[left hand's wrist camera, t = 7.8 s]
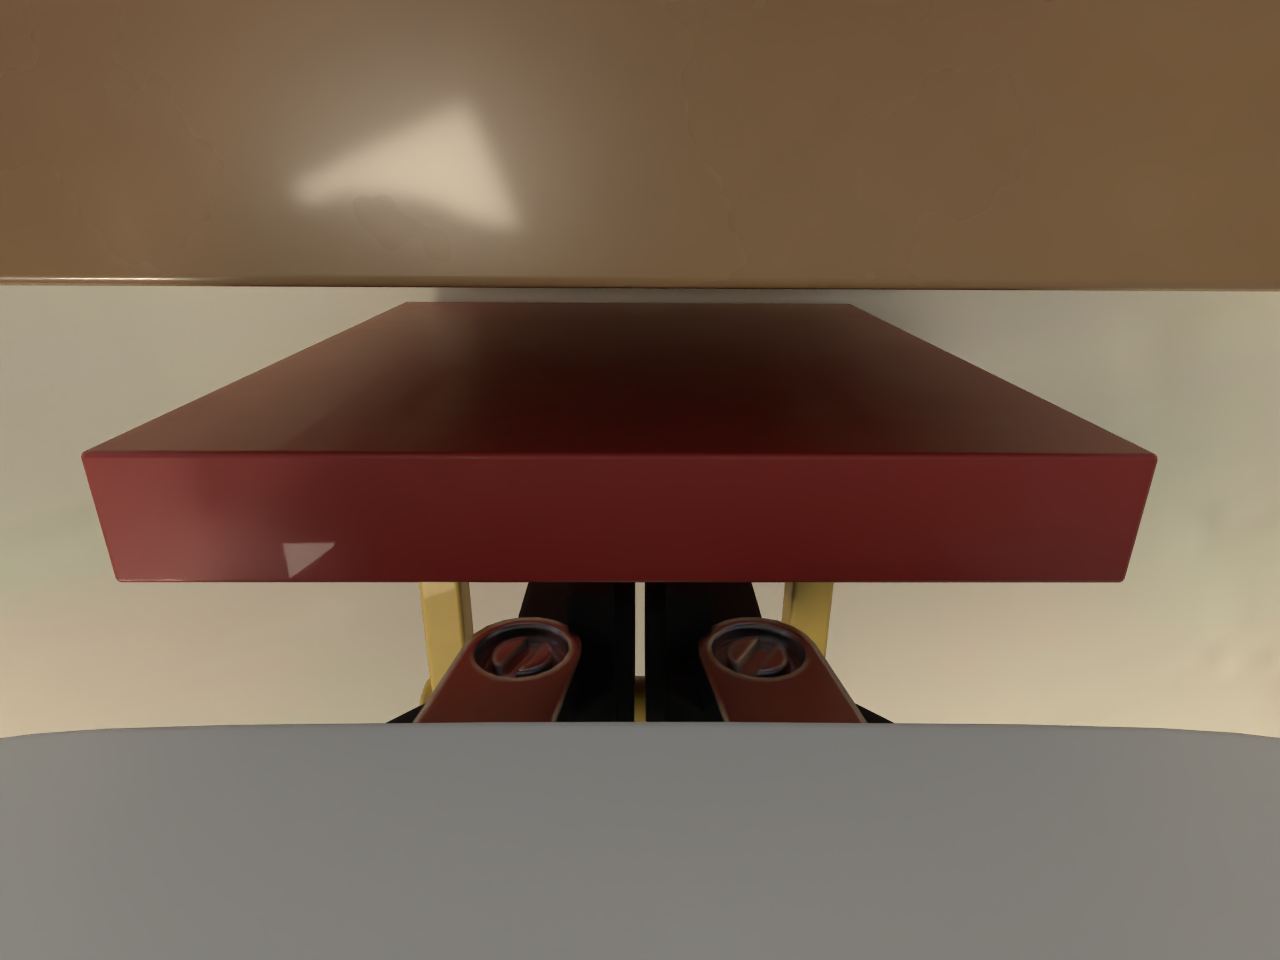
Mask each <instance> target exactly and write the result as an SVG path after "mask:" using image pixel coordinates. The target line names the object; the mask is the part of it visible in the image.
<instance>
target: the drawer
mask: <svg viewBox="0 0 1280 960" xmlns="http://www.w3.org/2000/svg"><path fill="white" fill-rule="evenodd" d="M81 458H82V462H83V465H84V469H85V472H86V476H87V479H88V483H89V486H90V490H91V493H92V496H93V500H94V503H95V507H96V510H97V514H98V517H99V521H100V524H101V528H102V531H103V535H104V538H105V542H106V545H107V549H108V552H109V556H110V559H111V563H112V566H113V570H114V573H115V577H116V579H117V580H118V581H120V582H419V586H420V594H421V603H422V611H423V620H424V628H425V637H426V645H427V654H428V662H429V671H430V679H429V680H428V681H427V682H426V684H425V687H424V689H423V692H422V695H421V699H420V704H419V706H421V705H423V704H425V703H426V702H427V700H428V699H429V697H430V696H431V694H432V692H433V691H434V689H435V688H436V686H437V685H438V683H439V682H440V680H441V679H442V677H443V676H444V674H445V673H446V671H447V670H448V668H449V667H450V665H451V664H452V662H453V661H454V659H455V658H456V656H457V655H458V653H459V652H460V650H461V649H462V647H463V646H464V644H465V643H466V642H467V641H468V640H469V639H470V638H471V637H472V636H473V635H474V634H473V623H472V612H471V601H470V590H469V582H785V589H784V601H783V612H782V623H785V624H788V625H791V626H793V627H795V628H797V629H798V630H800V631H802V632H803V633H805V634H806V635H807V636H808V637H809V638H810V639H811V640H812V641H813V642H814V643H815V644H816V646H817V647H818V649H819V650H820V652H821V653H822V655H823V656H824V658H825V654H826V645H827V637H828V628H829V620H830V611H831V602H832V594H833V585H834V582H1122V581H1123V580H1124V579H1125V575H1126V571H1127V568H1128V564H1129V561H1130V557H1131V554H1132V550H1133V546H1134V543H1135V539H1136V536H1137V532H1138V528H1139V525H1140V521H1141V518H1142V514H1143V510H1144V507H1145V503H1146V500H1147V496H1148V492H1149V489H1150V485H1151V482H1152V478H1153V475H1154V471H1155V467H1156V464H1157V456H1156V454H1153V453H1151V452H1149V451H1147V450H1145V449H1143V448H1141V447H1139V446H1137V445H1135V444H1133V443H1131V442H1129V441H1127V440H1125V439H1123V438H1121V437H1119V436H1117V435H1115V434H1113V433H1111V432H1109V431H1107V430H1105V429H1103V428H1101V427H1099V426H1097V425H1094V424H1092V423H1090V422H1088V421H1086V420H1084V419H1082V418H1080V417H1078V416H1076V415H1074V414H1072V413H1070V412H1068V411H1066V410H1064V409H1062V408H1060V407H1058V406H1056V405H1054V404H1052V403H1050V402H1048V401H1046V400H1044V399H1042V398H1040V397H1038V396H1036V395H1033V394H1031V393H1029V392H1027V391H1025V390H1023V389H1021V388H1019V387H1017V386H1015V385H1013V384H1011V383H1009V382H1007V381H1005V380H1003V379H1001V378H999V377H997V376H995V375H993V374H991V373H989V372H987V371H985V370H983V369H981V368H979V367H977V366H974V365H972V364H970V363H968V362H966V361H964V360H962V359H960V358H958V357H956V356H954V355H952V354H950V353H948V352H946V351H944V350H942V349H940V348H938V347H936V346H934V345H932V344H930V343H928V342H926V341H924V340H922V339H920V338H918V337H915V336H913V335H911V334H909V333H907V332H905V331H903V330H901V329H899V328H897V327H895V326H893V325H891V324H889V323H887V322H885V321H883V320H881V319H879V318H877V317H875V316H873V315H871V314H869V313H867V312H865V311H863V310H861V309H859V308H857V307H854V306H852V305H850V304H716V303H501V302H406V303H403V304H401V305H399V306H397V307H395V308H393V309H390V310H388V311H386V312H384V313H382V314H380V315H378V316H375V317H373V318H371V319H369V320H367V321H365V322H363V323H360V324H358V325H356V326H354V327H352V328H350V329H347V330H345V331H343V332H341V333H339V334H337V335H335V336H332V337H330V338H328V339H326V340H324V341H322V342H319V343H317V344H315V345H313V346H311V347H309V348H307V349H304V350H302V351H300V352H298V353H296V354H294V355H291V356H289V357H287V358H285V359H283V360H281V361H279V362H276V363H274V364H272V365H270V366H268V367H266V368H263V369H261V370H259V371H257V372H255V373H253V374H251V375H248V376H246V377H244V378H242V379H240V380H238V381H235V382H233V383H231V384H229V385H227V386H225V387H223V388H220V389H218V390H216V391H214V392H212V393H210V394H207V395H205V396H203V397H201V398H199V399H197V400H195V401H192V402H190V403H188V404H186V405H184V406H182V407H179V408H177V409H175V410H173V411H171V412H169V413H167V414H164V415H162V416H160V417H158V418H156V419H154V420H151V421H149V422H147V423H145V424H143V425H141V426H139V427H136V428H134V429H132V430H130V431H128V432H126V433H123V434H121V435H119V436H117V437H115V438H113V439H111V440H108V441H106V442H104V443H102V444H100V445H98V446H95V447H93V448H91V449H89V450H87V451H85V452H83V453H82V457H81ZM634 722H646V710H645V676H635V705H634Z"/></svg>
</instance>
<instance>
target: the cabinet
mask: <svg viewBox="0 0 1280 960" xmlns="http://www.w3.org/2000/svg"><path fill="white" fill-rule="evenodd" d="M0 285H75V286H280V287H485V288H691V289H896V290H1102V291H1280V0H0Z"/></svg>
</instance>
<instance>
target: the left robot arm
mask: <svg viewBox="0 0 1280 960" xmlns="http://www.w3.org/2000/svg"><path fill="white" fill-rule="evenodd" d="M634 705H635V582H529V583H528V586H527V589H526V593H525V596H524V600H523V603H522V607H521V610H520V613H519V617H518V618H515V619H509V620H503V621H500V622H498V623H495V624H492V625H489V626H487V627H485V628H483V629H482V630H480V631H478V632H477V633H475V634H474V635H473V636H472V637H471V638H470V639H469V640H468V641H467V642H466V643H465V644H464V646H463V647H462V649H461V650H460V652H459V653H458V655H457V656H456V658H455V659H454V661H453V662H452V664H451V665H450V667H449V668H448V670H447V671H446V673H445V674H444V676H443V677H442V679H441V680H440V682H439V683H438V685H437V686H436V688H435V689H434V691H433V692H432V694H431V696H430V697H429V699H428V700H427V702H426V703H425V704H423V705H421V706H419V707H417V708H415V709H413V710H411V711H409V712H407V713H405V714H403V715H401V716H399V717H397V718H395V719H393V720H391V721H389V722H387V723H376V724H283V725H215V726H183V727H151V728H118V729H97V730H82V731H68V732H54V733H40V734H30V735H22V736H15V737H7V738H0V960H1280V738H1274V737H1265V736H1257V735H1249V734H1240V733H1229V732H1213V731H1197V730H1181V729H1164V728H1132V727H1095V726H1058V725H1017V724H900V723H893V722H891V721H889V720H887V719H885V718H883V717H881V716H879V715H877V714H875V713H873V712H871V711H869V710H867V709H865V708H863V707H861V706H859V705H857V704H855V703H854V702H853V700H852V699H851V697H850V696H849V694H848V692H847V691H846V689H845V688H844V686H843V685H842V683H841V682H840V680H839V679H838V677H837V676H836V674H835V673H834V671H833V670H832V668H831V667H830V665H829V664H828V662H827V661H826V659H825V658H824V656H823V655H822V653H821V652H820V650H819V649H818V647H817V646H816V644H815V643H814V642H813V641H812V640H811V639H810V638H809V637H808V636H807V635H806V634H805V633H803V632H802V631H800V630H798V629H797V628H795V627H793V626H791V625H788V624H785V623H782V622H780V621H777V620H771V619H765V618H762V617H761V614H760V610H759V607H758V603H757V600H756V596H755V593H754V590H753V586H752V583H751V582H645V710H646V722H634Z"/></svg>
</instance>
